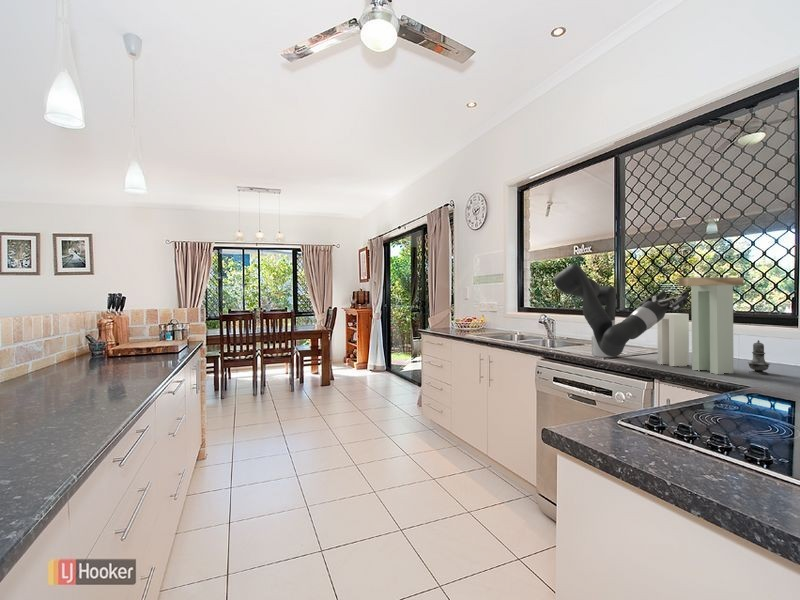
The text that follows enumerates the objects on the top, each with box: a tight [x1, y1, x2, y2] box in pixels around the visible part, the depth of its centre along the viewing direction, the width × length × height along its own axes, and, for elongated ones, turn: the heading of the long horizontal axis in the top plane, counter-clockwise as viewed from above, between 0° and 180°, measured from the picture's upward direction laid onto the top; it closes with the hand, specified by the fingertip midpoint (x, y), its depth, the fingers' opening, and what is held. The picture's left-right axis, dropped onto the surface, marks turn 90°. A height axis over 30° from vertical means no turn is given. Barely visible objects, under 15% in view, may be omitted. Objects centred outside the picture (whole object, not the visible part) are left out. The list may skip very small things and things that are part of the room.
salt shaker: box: [747, 339, 771, 376], centre depth 137 cm, size 6×6×12 cm
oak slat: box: [678, 276, 745, 287], centre depth 141 cm, size 4×28×3 cm, turn 106°
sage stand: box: [690, 285, 735, 375], centre depth 141 cm, size 9×8×32 cm
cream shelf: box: [656, 312, 690, 367], centre depth 155 cm, size 7×8×21 cm
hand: (675, 292), depth 136 cm, fingers open, 8 cm apart
